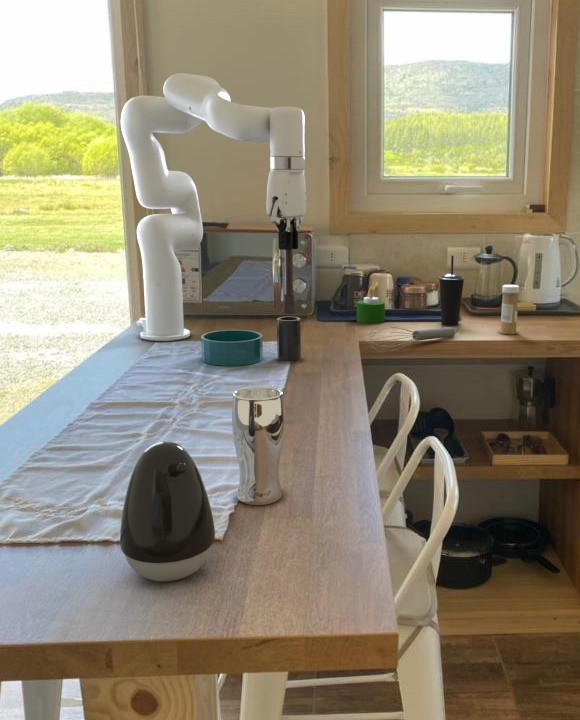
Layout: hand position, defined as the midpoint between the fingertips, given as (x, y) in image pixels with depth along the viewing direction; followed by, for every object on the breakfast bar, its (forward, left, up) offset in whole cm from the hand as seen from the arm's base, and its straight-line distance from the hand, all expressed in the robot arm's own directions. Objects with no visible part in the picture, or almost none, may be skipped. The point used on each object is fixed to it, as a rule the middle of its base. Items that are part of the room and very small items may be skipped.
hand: (288, 248), depth 182 cm
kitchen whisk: (+18, +31, -26) cm, 44 cm away
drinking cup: (+16, +62, -26) cm, 69 cm away
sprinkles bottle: (+35, +58, -26) cm, 73 cm away
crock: (0, 0, -26) cm, 26 cm away
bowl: (-11, -7, -26) cm, 29 cm away
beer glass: (+39, -69, -26) cm, 83 cm away
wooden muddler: (0, 0, -15) cm, 15 cm away
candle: (-6, +54, -26) cm, 60 cm away
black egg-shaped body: (+42, -91, -26) cm, 104 cm away
